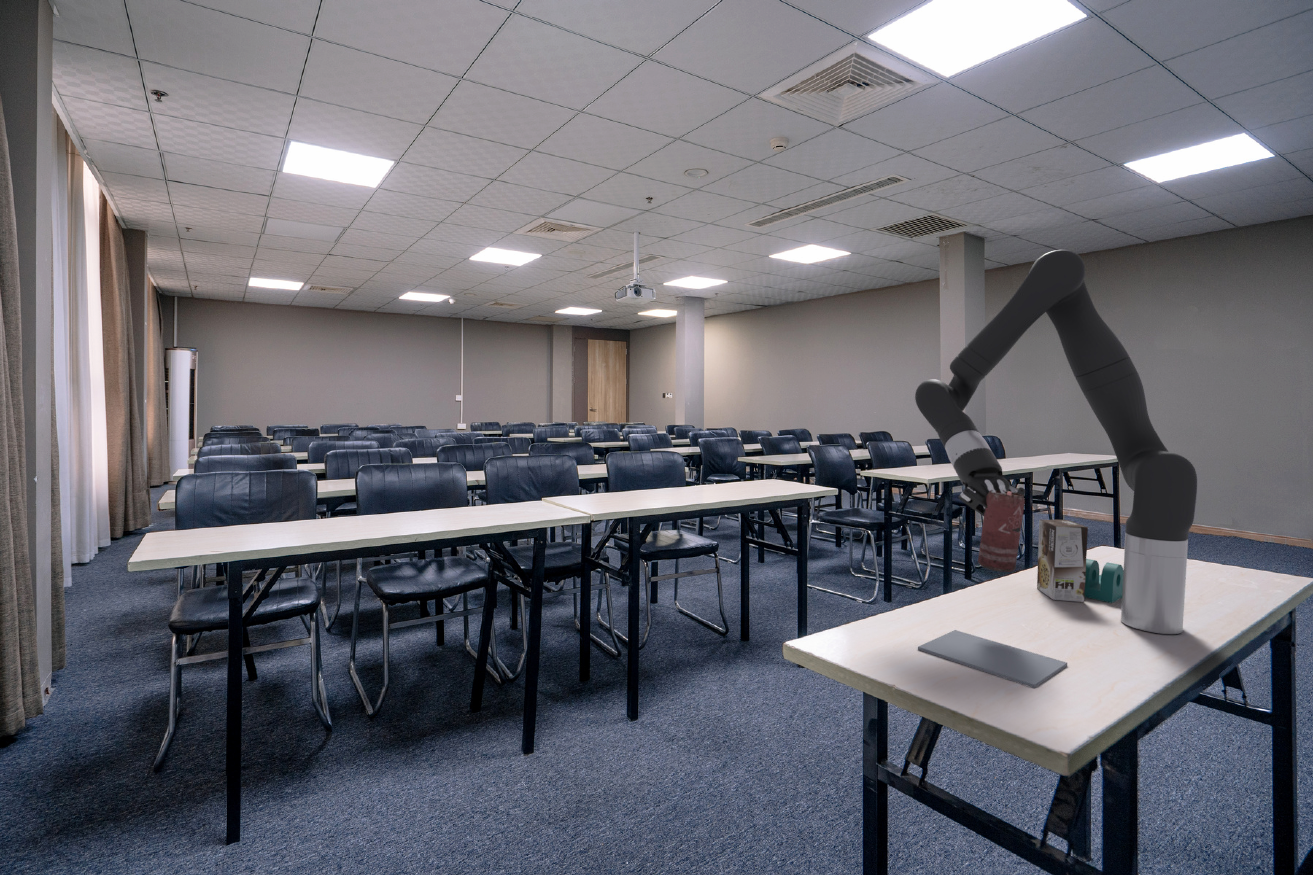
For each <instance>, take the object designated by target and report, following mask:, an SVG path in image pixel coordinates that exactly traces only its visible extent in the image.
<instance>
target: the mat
mask: <svg viewBox="0 0 1313 875" xmlns="http://www.w3.org/2000/svg"><path fill="white" fill-rule="evenodd" d="M917 650H919V651H922V652H924V653H926V654H930V655H933V656H936V657H939V658H942V659H945V660H947V661H951V662H953V663H957V664H961V665H964V666H965V667H966V666H967V667H970V668H972V669H975V670H978V671H981V672H984V673H987V674H990V675H993V676H997V677H999V678H1003V679H1005V680H1008V681H1012V682H1015V683H1017V684H1021V685H1024V686H1027V687H1029V688H1032V689H1035V688H1037V687H1039V686H1040V685H1042V684H1043V683H1044V682H1046V681H1047V680H1049V679H1051V678H1052V677H1053V676H1054V675H1056V674H1057V673H1059V672H1060V671H1062V670H1063V669H1065V668H1066V667H1067V666H1068V662H1066V661H1063V660H1060V659H1056V658H1053V657H1050V656H1045V655H1042V654H1038V653H1036V652H1032V651H1029V650H1026V649H1021V648H1018V647H1015V646H1011V645H1007V644H1004V643H1001V642H998V641H996V640H995V641H994V640H991V639H987V638H983V637H980V636H977V635H974V634H971V633H968V632H963V631H960V630H957V629H954V630H951V631H950V632H947V633H945V634H943V635H940V636H938V637H936V638H934V639H932V640H930V641H927V642H925V643H923V644H921V645H919V646H917Z"/></svg>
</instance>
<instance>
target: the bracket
mask: <svg viewBox="0 0 1313 875" xmlns="http://www.w3.org/2000/svg"><path fill="white" fill-rule="evenodd" d="M1123 569H1124V566H1123V565H1122V564H1120V563H1113V562H1106V563H1105V564H1104V565H1103V568H1102V570H1101V574H1100V565H1099V561H1098V560H1095V559H1092V558H1091V559H1090V558H1086V574H1085V594H1084V598H1088V599H1093V600H1097V601H1102V602H1106V603H1111V604H1113V603H1115V602H1116V601H1119V600H1120V599H1122V588H1123Z"/></svg>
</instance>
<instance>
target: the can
mask: <svg viewBox="0 0 1313 875" xmlns="http://www.w3.org/2000/svg"><path fill="white" fill-rule="evenodd" d="M991 491H993V490H990V491H989V493H988V494H987V497H986V502H987V509H986V508H985V509H986V510H985V514H984V516H983V521H982V528H981V536H980V542H979V549H978V550H979V551H978V559H977V563H978V564H979V566H980V567H982V568H984V569H987V570H989V571H995V572H998V573H999V572H1001V573H1012V572H1014V571H1015V570H1016V566H1017V559H1018V553H1019V544H1020V537H1021V533H1022V532H1021V531H1022V530H1021V529H1022V524H1023V519H1024V518H1023V517H1024V510H1025V509H1024V508H1025V503H1026V502H1025V498H1023V495H1021V494H1017V493H1012V492H1010V491H1008V492H1006V491H1004V492H1005V493H1000V491H997V490H995V491H996V493H995V492H991ZM1006 494H1007V495H1006ZM1017 528H1021V529H1020V532H1016V531H1013V529H1017Z"/></svg>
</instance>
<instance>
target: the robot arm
mask: <svg viewBox="0 0 1313 875" xmlns="http://www.w3.org/2000/svg"><path fill="white" fill-rule="evenodd" d="M1085 277H1086V265H1085V262H1084V260H1083V258H1082V257H1081V256H1080V255H1079V254H1078V253H1076V252H1074V251H1072V250H1068V249H1056V250H1052V251H1049V252H1047V253H1044V254H1043V255H1041V256H1039V257H1038V258H1037V259H1036V260H1035V261H1034V263H1033V264H1032V265H1031V268H1030V269H1029V272H1028V274H1027V275H1026V277H1025V278H1024V280H1023V281H1022V283H1021V284H1020V286H1019V287H1018V288H1017V290H1016V291H1015V293H1014V294H1013V295H1012V297H1011V298H1010V299H1009V301H1008V302H1007V303H1006V304H1005V305H1004V306H1003V308H1002V309H1000V311H998V313H997V314H996V315H995V316H994V317H993V318H992V319H991V320H990V321H989V322H988V323H987V324H986V325H985V326H984V327H983V328H982V329H981V330H980V331H979V332H977V334H976V335H975V336H974V337H973V338H972V339H971V340H970V341H969V342H968V343H967V345H965V347H964V348H963V349H962V350H961V351H960V352H959V353H958V354H957V355H956V356H955V358H953V360H952V361H951V362H950V364H949V370H950V371H951V373H952V375H953V376H952V378H951V380H950V382H949V383H948V384H946V383H945V382H944V381H942V380H939V379H935V378H934V379H932V378H931V379H926V380H925V381H923V382H921V383H920V384H919V385H918V386H917V388H916V391H915V395H914V401H915V405H916V406H917V408H918V410H919V412H920V413H921V414H922V415H923V417H924V418H925V419H926V420H927V422H928V424H929V425H931V427H932V428H933V429H934V431H935V432H936V433H937V435H938V436H937V437H938V438H939V440H940V441H941V443H942V445H943V448H944V449H945V451H946V454H947V457H948V460H949V462H950V463H951V465H952V467H953V469H954V471H955V473H956V475H957V477H958V478H959V481H960V483H961V484H962V485H963V486H964V489H963V490H962V492H961V493H960V494H959V495H958V499H959V500H960V501H961V502H963V503H964V504H965V505H967V506H968V507H969V508H971V509H973V510H974V511H976V512H977V514H980V515H981V516H983V517H984V514H985V510H986V509H987V502H986V497H987V494H988V493H989V491H990V490H993V491H991V492H995V493H996V491H995V490H997V491H1000V493H1005V492H1004V491H1006V492H1008V491H1010V492H1012V493H1017V494H1021V495H1023V498H1024V497H1025V494H1026V489H1025V488H1024V487H1022V486H1020V487H1019V488H1018V489H1017V488H1016V487H1014V486H1011V484H1010V482H1009V480H1007V479H1006V478H1005V477H1004V475H1003V474H1004V473H1003V467H1002V465H1001V464H1000V463H999V461H998V459H997V457H996V456H995V454H994V452H993V451H992V449H991V448H990V446H989V444H988V442H987V441H986V439H985V438H984V437H983V436H982V435H981V433H980V432H979V430H978V428H977V427H976V426H977V425H976V424H975V423H974V422H973V420H972V418H971V417H970V416H969V415H968V414H966V413H965V412H964V410H965V408H966V407H967V405H968V404H969V403H970V401H971V399H972V398H973V396H974V394H975V393H976V391H977V388H978V387H979V385H980V383H981V381H983V380H984V379H985V378H986V377H987V375H989V373H991V372H992V370H993V369H994V368H995V367H996V366H998V364H999V363H1000V362H1001V361H1002V360H1003V359H1004V357H1005V356H1006V355H1007V354H1008V353H1009V352H1010V351H1011V350H1012V348H1013V347H1014V346H1015V345H1016V343H1017V342H1018V341H1019V340H1020V339H1021V337H1022V336H1023V335H1024V334H1025V333H1026V332H1027V330H1029V328H1030V327H1032V326H1033V324H1034V323H1035V322H1037V320H1039V319H1040V318H1041V317H1042V316H1043V315H1044V314H1045V313H1046V315H1047V316H1048V318H1049V319H1050V321H1051V324H1053V326H1054V328H1055V330H1056V332H1057V334H1058V337H1059V338H1058V339H1059V340H1060V344H1061V347H1062V348H1063V352H1064V354H1065V357H1066V360H1067V362H1068V365H1069V367H1070V369H1071V372H1072V373H1073V376H1074V379H1075V380H1076V382H1077V384H1078V386H1079V388H1080V390H1081V392H1082V394H1083V395H1084V397H1085V399H1086V401H1087V402H1088V404H1089V406H1090V408H1091V410H1092V412H1093V413H1094V415H1095V416H1096V418H1097V420H1098V421H1099V423H1100V425H1101V426H1102V428H1103V429H1104V431H1105V433H1106V435H1107V437H1108V439H1109V442H1110V443H1111V446H1112V449H1113V452H1114V454H1115V457H1116V459H1117V462H1118V465H1119V468H1120V471H1121V474H1122V477H1123V479H1124V481H1125V483H1126V484H1127V486H1128V487H1129V488H1130V489H1131V490H1132V491H1133V500H1132V509H1131V514H1130V515H1129V517H1127V518H1126V521H1125V531H1124V532H1125V533H1124V535H1125V536H1124V549H1123V550H1124V553H1123V588H1122V598H1121V608H1120V610H1121V612H1120V622H1122V623H1123V624H1125V625H1126V626H1128V627H1130V628H1133V629H1137V630H1141V631H1145V632H1149V633H1155V634H1156V633H1157V634H1162V635H1178V634H1181V633H1183V632H1184V631H1183V630H1184V628H1183V627H1184V615H1185V614H1184V613H1185V598H1186V582H1187V581H1186V580H1187V568H1188V566H1187V565H1188V564H1187V563H1188V548H1189V547H1188V545H1189V543H1188V542H1189V532H1190V529H1191V528H1192V526H1193V524H1194V521H1195V520H1194V519H1195V511H1196V505H1197V495H1198V494H1197V493H1198V476H1197V471H1196V469H1195V467H1194V465H1193V463H1192V462H1191V461H1190V460H1188V459H1187V457H1184V456H1182V455H1180V454H1178V453H1174V452H1170V451H1169V450H1168V449H1167V447H1166V445H1165V444H1164V443H1163V442H1162V440H1161V438H1160V437H1159V435H1158V433H1157V431H1156V430H1155V428H1154V426H1153V424H1152V421H1151V419H1150V416H1149V412H1148V407H1147V406H1148V405H1147V401H1146V400H1147V399H1146V394H1145V388H1144V386H1143V382H1142V378H1141V376H1140V374H1139V372H1138V371H1137V368H1136V367H1135V364H1134V363H1133V361H1132V359H1131V357H1130V354H1129V353H1128V352H1127V350H1126V348H1125V347H1124V345H1123V344H1122V342H1121V341H1120V340H1119V338H1118V336H1117V335H1116V334H1115V333H1114V332H1113V330H1112V329H1111V328H1110V327H1109V325H1108V324H1107V323H1106V322H1105V321H1104V320H1103V318H1102V317H1101V316H1100V314H1099V312H1098V311H1097V309H1096V307H1095V305H1094V303H1093V300H1092V297H1091V295H1090V293H1089V291H1088V288H1087V286H1086V282H1085ZM1006 495H1007V494H1006ZM1024 499H1025V498H1024ZM980 505H981V506H980ZM985 508H986V509H985ZM1020 529H1022V527H1021V528H1017V529H1013V531H1016V532H1020ZM1020 533H1021V532H1020Z"/></svg>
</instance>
